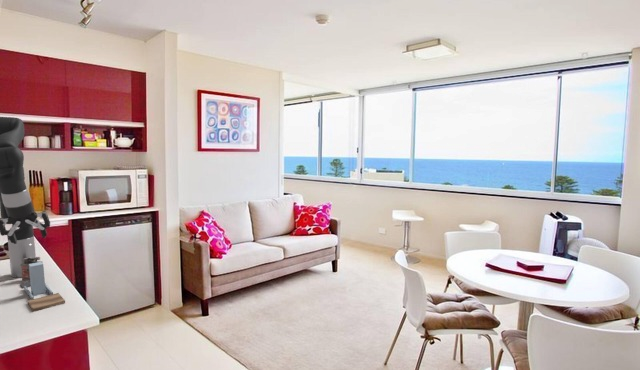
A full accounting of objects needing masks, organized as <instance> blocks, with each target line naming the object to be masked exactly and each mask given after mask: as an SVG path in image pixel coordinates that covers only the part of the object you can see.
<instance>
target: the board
mask: <svg viewBox="0 0 640 370" xmlns="http://www.w3.org/2000/svg"><path fill="white" fill-rule="evenodd" d="M27 304H28V305H29V307H30V309H31V310H32V312H36V311H41V310H44V309H47V308H51V307H55V306H59V305H64V304H66V300H65V298H63V296H62V295H61V294H60V293H59V292H57V293H53V294H52V295H50V294H49V295H45V296H40V297H37V298H34V299H32V300H31V299H29V300H27Z"/></svg>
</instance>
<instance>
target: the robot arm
mask: <svg viewBox="0 0 640 370" xmlns="http://www.w3.org/2000/svg"><path fill="white" fill-rule="evenodd" d="M25 133H26V132H25V124H24V122H23V120H22V119H21V118H20V117H19V118H18V117H11V116H0V235H1V236H2V237H3V236H6V237H7V245H8V257H9V264H10V265H9V266H10V276H11V277H12V278H22V269H21V263H24V260H23V259H24V258H29V257H33V258H34V257H37V255H36V254H37V253H36V246H35V235H34V234H35V233H34V227H35V228H37V229H39V230H40V234H41V237H42V239H46V237H47V236H48V232H47V228H50V227H51V221H50V218H49V216H48V213H47V211H46V210H42V211H41V212H36V211H35V208H34V205H33V202H32V198H31V194H30V191H29V190H28V188H27V185H26V181H25V179H26V177H25V168H24V159H25V158H24V152H23V151H22V150H21V149H20V148H19V146H20V143H22V141H23V140H24V138H25ZM37 218H40V219H42V220H43V222H44V223H43V222H41V221H40V220H39V219H37ZM6 225H11V227H10V228H9V229H8V230H7V229H6ZM34 261H35V260H34Z"/></svg>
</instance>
